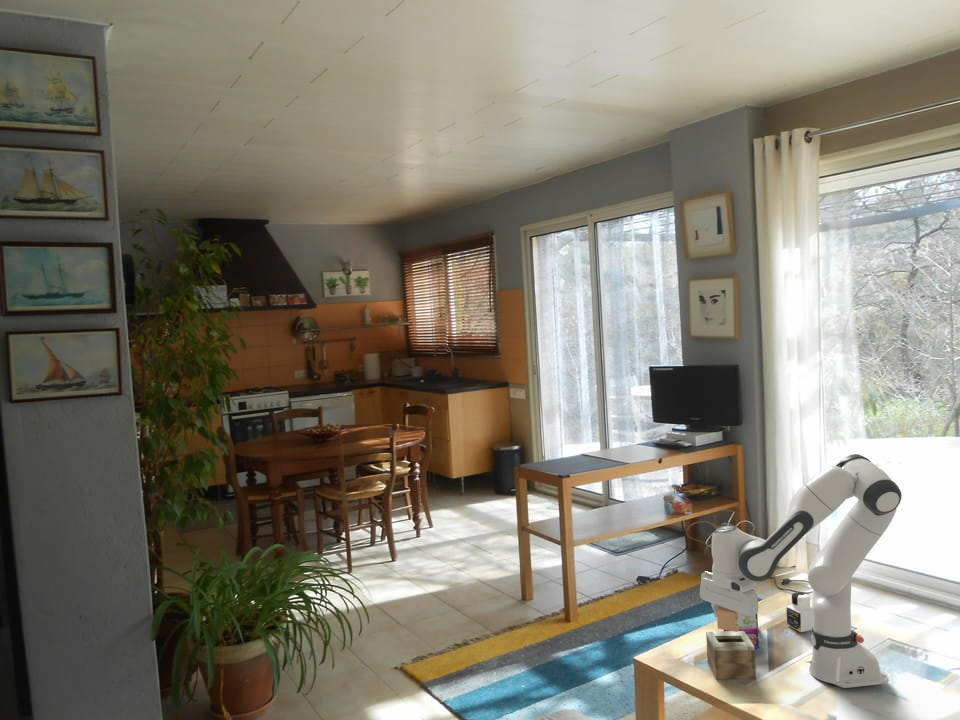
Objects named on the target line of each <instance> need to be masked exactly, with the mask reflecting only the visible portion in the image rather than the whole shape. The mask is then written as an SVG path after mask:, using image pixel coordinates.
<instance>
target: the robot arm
mask: <svg viewBox="0 0 960 720" xmlns="http://www.w3.org/2000/svg"><path fill="white" fill-rule="evenodd" d="M902 495H903V494H902V492H901V490H900V487H899V486H898V485H897V483H896V482H895V481H893V480H892V478H890V476H889V475H888V474H887V473H886V472H885V471H884V470H883V469H881V468H880V467H879V466H877V465H876V464H874V463H873V462H872V461H871V460H870V459H869V458H867V457H865V456H863V455H861V454H857V453H853V454H850V455H847V456H845V457H843V458H842V459H841V460H839V462H838V463H836V465H830V466H828V467H826V468H824V469H823V470H822V471H820V472H818V473H817V474H815V475H814V476H813V477H811V478H810V479H809V480H807V482H805V484H803V485H802V486H801V487H800V488H798V491H796V492H795V494H794V496H793V497H792V498H791V499H790V501H789V502H790V503H789V505H788V506H789V507H788V510H787V514H786V516H785V519H784V520H783V522H782V523H781V525H780V526H779V527H777V529H776V530H775V531H774V532H772V534H771V535H770V536H768V537H767V539H764V538H762V537H759V536H755V535H752V534H749V533H746V532H745V531H742V530H741V529H740V528H738V527H737V526H735V525H724V526H723V525H722V526H720V527H718V528H716V529H715V530H714V531H713V533H712V537H711V556H712V566H711V572H709V571H706V570H705V571H704V572H701V575H700V579H701V580H700V585H699V586H700V587H699V596H700V598H701V600H703V601H705V602H708V603H710V605H711V609H712V611H713V612H714V617H715V618H717V609H718V608H719V607H724V608H727V609H730V610H732V611H735V612H738V616H739V618H738V619H736V620H735V622H736V623H735V625H737V626H742V625H743V619H744V617H745V616H749V617H750V616H753V615H756V614H758V612H759V602H758V601H759V600H758V593H757V592H756V590H755V589H756V588H757V583H756V582H765V581H767V580H769V579H771V577H772V576H773V575H774V574H775V571H776V568H777V565H779V564H778V563H779V561H780V560H781V559H782V558H783V557H784V556H785V555H786V554H787V553H789V552H790V550H791V549H792V548H793V547H794V546H796V545H797V543H799V541H800V540H801V539H802V538H803V537H804V536H805V535H806V534H808V533H809V532H810V531H811V530H813V529H814V528H815V527H817V526H818V525H819V524H820V523H822V522H823V521H824V520H826V519H827V518H828V517H829V516H830V515H832V514H833V513H834V512H835V511H836V510H837V509H838V508H839V507H840V506H842V504H843V503H845V501H846V500H847V499H849V498H853V497H855V498H857V501H856V502H855V503H854V505H853V506H851V509H850V510H849V511H848V513H846V515H845V516H844V518H842V520H841V522H840V523H839V525H838V526H837V527H836V529H835V530H834V531H833V533H832V534H831V536H830V537H829V538H828V540H827V541H826V542H825V544H824V545H823V547H821V548H822V549H820V550H819V551H817V553H816V555H815V556H814V558H813V560H812V562H811V563H810V565H809V567H808V570H807V581H808V583H809V585H810V587H811V589H812V591H813V592H812V604H811V607H812V612H813V627H812V630H811V644H812V655H811V660H810V661H811V662H810V666H809V669H808V672H809V674H810V675H811V676H813V677H814V679H817V680H819V681H823V682H825V683H829V684H834V685H836V686H838V687H840V688H843V689H846V688H847V689H848V688H857V687H864V686H865V687H866V686H876V685H883V684H884V685H885V684H888V683H889V681H890V680H889V676H888V674H887V673H886V671H885V670H884V669H883V668H882V667H880V664H879V662H878V659H877V657H876V655H875V654H874V653H873V652H872V651H870V649H868V648H867V647H866V646H863V643H864V641H865V639H864V637H862V635H860V634H858V632H856V631H855V630H853V629H852V617H851V615H852V613H851V612H852V610H851V600H852V577H853V576H854V575H855V573H856V571H857V570H858V568H859V567H860V566H861V564H862V563H863V562H864V560H865V559H866V557H867V556H868V555H869V553H870V552H871V550H872V549H873V548H874V546H875V545H876V544H877V542H878V541H879V540H880V539H881V537H882V536H883V535H884V534H885V532H886V530H887V529H888V527H889V526H890V525H891V523H892V521H893V519H894V517H895V514H896V512H897V509H898V506H899V505H900V504H901V501H902Z"/></svg>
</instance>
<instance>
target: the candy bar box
mask: <svg viewBox="0 0 960 720" xmlns="http://www.w3.org/2000/svg"><path fill="white" fill-rule="evenodd" d="M757 614H758V613H757ZM757 614H756V615H753V616H750V617H749V616H745V617H744V619H743V625H742V626H739V630H738V631H744V632H745V633H746V635H747V636H748V638H749V639H750V641H751V642H752V644H753V645H754V647H755V649H759V648H760V646H759V621H758V622H757ZM723 631H728V630H723Z"/></svg>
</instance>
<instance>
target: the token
mask: <svg viewBox="0 0 960 720" xmlns="http://www.w3.org/2000/svg"><path fill="white" fill-rule="evenodd" d="M716 618H717V619H716V620H717V621H716V622H717V629H718V630H722V631H724V630H728V631H734V632H738V630H739V626H737V625H735V623H736V622H735V620H736V619H738V618H739V616H738V612H735V611H732V610H730V609H727V608H724V607H721V606H718V609H717V617H716Z"/></svg>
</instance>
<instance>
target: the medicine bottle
mask: <svg viewBox="0 0 960 720" xmlns="http://www.w3.org/2000/svg"><path fill="white" fill-rule="evenodd" d="M785 609H786V625H787V626H788V627H789V628H791V629H794V630H796V631H797V632H800V633H804V632H808V631H812V627H813V612H812V606H811V596H810V595H809V594H808V593H807V592H801V591H797V592H793V593H792V594H791V604H790V605H786V608H785Z"/></svg>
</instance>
